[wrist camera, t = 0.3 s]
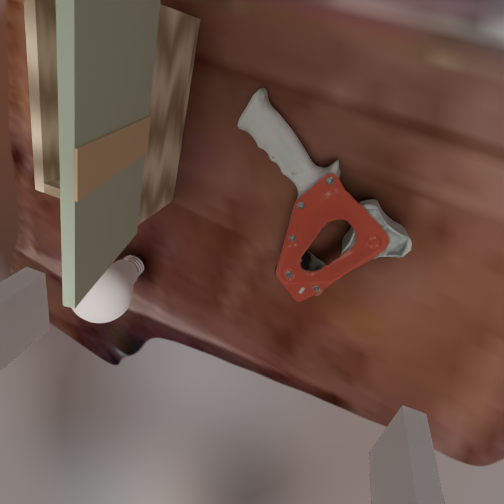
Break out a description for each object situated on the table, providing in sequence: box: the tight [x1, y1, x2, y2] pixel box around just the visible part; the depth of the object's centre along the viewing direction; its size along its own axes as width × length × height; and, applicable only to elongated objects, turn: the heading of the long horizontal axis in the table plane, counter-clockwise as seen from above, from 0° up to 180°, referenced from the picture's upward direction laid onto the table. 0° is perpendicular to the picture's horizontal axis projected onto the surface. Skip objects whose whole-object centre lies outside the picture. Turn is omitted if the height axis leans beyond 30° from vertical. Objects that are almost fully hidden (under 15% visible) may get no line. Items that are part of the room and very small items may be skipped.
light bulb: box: [72, 254, 145, 323], centre depth 41 cm, size 7×7×11 cm
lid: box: [56, 0, 161, 309], centre depth 24 cm, size 19×11×1 cm
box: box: [24, 0, 201, 225], centre depth 33 cm, size 18×11×8 cm, turn 165°
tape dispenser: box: [237, 88, 412, 302], centre depth 34 cm, size 18×5×20 cm
